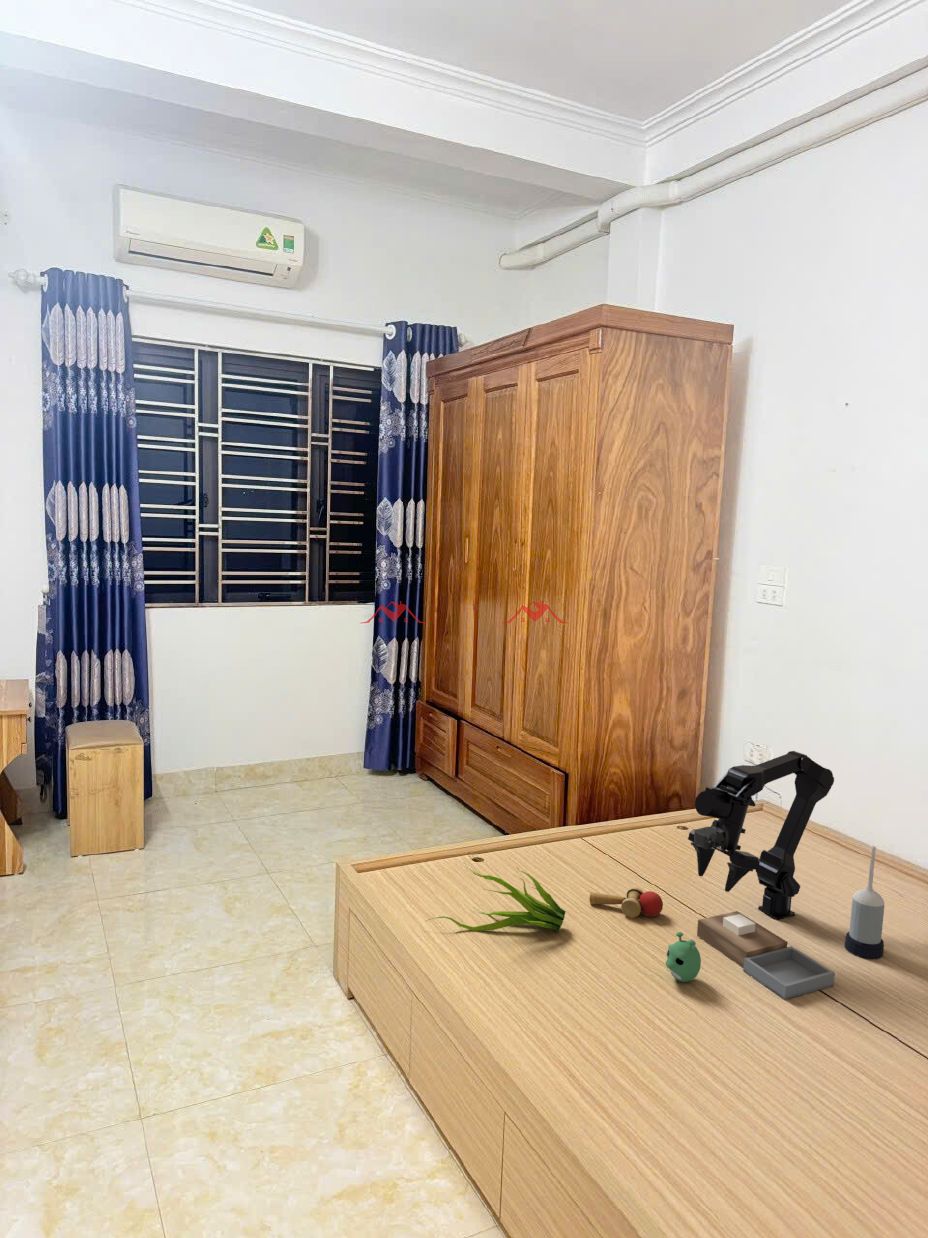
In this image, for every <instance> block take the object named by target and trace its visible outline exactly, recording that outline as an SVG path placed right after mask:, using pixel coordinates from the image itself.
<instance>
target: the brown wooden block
mask: <svg viewBox="0 0 928 1238" xmlns="http://www.w3.org/2000/svg"><path fill="white" fill-rule="evenodd" d="M737 914H741V915H743V916H744V917H746V918H747V919H749V920H751V921H752V922H754V923H755V932H751V933H747V934H743V935H739V936H738V935H736V934H735V933H733V932H732V931H730V930H729V929H727V928H725V927H724V926H723V918H724V917H729V916H733V915H737ZM696 936H697V937H698V938H699V939H701V940H703V941H704V942H705V943H706V944H708V945H709V944H710V945H709V946H711V947H713V949H715V950H716V951H718V952H719V953H721V954H723V955H724V956H725V957H727V958H729V959H730V960H731V961H733V962H734V963H735V964H737V965H738V966H739V967H741V968H743V967H744V958H747V957H751V956H755V955H759V954H763V953H767V952H771V951H775V950H779V949H783V948H787V947H788V941H787V940H785V939H784V938H782V937H780V936H778V934H776V933H773V932H772V931H771V930H769V929H767V928H766V927H764V926H762V925H761V924H759V923H758V922H756V921H754V920H752V919H751V918H750V917H748V916H746V915H744V914H743V913H741V912H739V911H738V910H736V911H732V912H731V911H730V912H726V913H723V914H722V913H721V914H718V915H713V916H710V917H705V918H701V919H698V920H697V929H696Z"/></svg>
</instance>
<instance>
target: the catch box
mask: <svg viewBox="0 0 928 1238" xmlns="http://www.w3.org/2000/svg"><path fill="white" fill-rule="evenodd" d="M742 968H743V969H742V972H744V973H745V974H746V973H747V974H746V975H748V976H749V975H750V977H751V976H752V977H753V978H752V977H751V978H752V979H754V980H755V979H756V980H757V981H756V982H758V983H759V984H761V985H762V986H764V987H766V989H768V990H769V991H771V992H773V993H774V994H775V995H777V996H778V997H780V998H781V1000H782V999H783V1000H784V1001H786V1000H790V999H793V998H796V997H799V996H804V995H808V994H810V993H813V992H814V993H815V992H818V991H821V990H824V989H828V988H831V987H833V986H834V984H835V974H836V973H835V972H834V971H832V970H831V969H830V968H828V967H826V966H825V965H823V964H822V963H820V962H818V961H817V960H816V959H814V958H812V957H810V956H808V955H807V954H805V953H804V952H802V951H800V950H799V949H797V948H795V947H794V946H792V945H790V946H787V948H783V949H779V950H775V951H771V952H767V953H763V954H759V955H755V956H751V957H747V958H744V967H742Z"/></svg>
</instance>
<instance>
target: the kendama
mask: <svg viewBox="0 0 928 1238" xmlns="http://www.w3.org/2000/svg"><path fill="white" fill-rule="evenodd" d="M663 903H664V902H663V899H662V896H661V895H660V894H658V893H657V892H656V891H651V890H650V891H645V892H644V891H643V890H642V889H641V888H639V887H637V886H633V887H630V888H629V889H628V890H627V892H626V897H624V896H621V895H619V896H618V895H615V894H609V893H608V894H606V893H599V892H593V891H591V892H590V893H589V904H590V905H621V907H620V909H621V912H622V913H623V914H624V915H625V916H626V915H627V917H629V916H632V917H631V918H636V917H638V916H639V915H640V914H641V913H642V914H643V915H645V916H646V917H650V918H651V917H657V916H659V914H661V912H662V910H663V908H664V907H663V906H664V904H663Z"/></svg>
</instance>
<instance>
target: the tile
mask: <svg viewBox="0 0 928 1238" xmlns="http://www.w3.org/2000/svg"><path fill="white" fill-rule="evenodd" d="M741 914H742V913H741ZM741 914H737V915H733V916H729V917H724V918H723V926H724V927H725V928H727V929H729V930H730V931H732V932H733V933H735V934H736V935H738V936H739V935H743V934H747V933H751V932H755V923H754V922H755V921H754V922H752V921H751V920H752V919H751V920H749V919H750V918H749V919H747V918H746V917H747V916H746V917H744V916H743V915H744V914H743V915H741Z"/></svg>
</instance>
